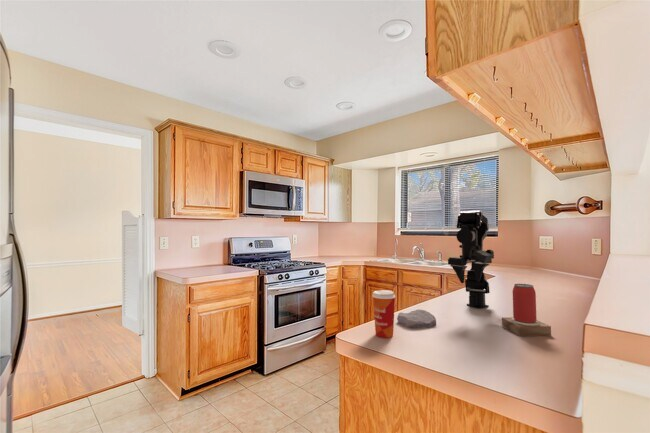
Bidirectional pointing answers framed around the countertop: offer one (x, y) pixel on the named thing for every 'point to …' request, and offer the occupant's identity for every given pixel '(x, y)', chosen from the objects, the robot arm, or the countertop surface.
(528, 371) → the countertop surface
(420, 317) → the stone block
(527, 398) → the countertop surface
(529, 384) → the countertop surface
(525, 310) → the beer can
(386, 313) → the paper cup
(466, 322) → the countertop surface
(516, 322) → the walnut pedestal
